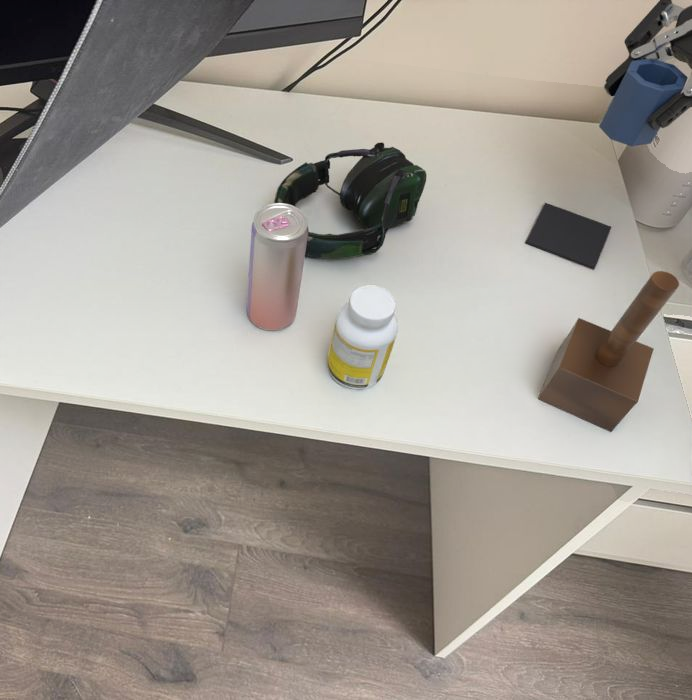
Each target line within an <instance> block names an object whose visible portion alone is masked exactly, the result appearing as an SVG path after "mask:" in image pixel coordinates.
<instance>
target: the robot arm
mask: <svg viewBox="0 0 692 700" xmlns="http://www.w3.org/2000/svg"><path fill="white" fill-rule="evenodd" d="M674 22H676V23H675V25H674V26H675V27H673V28H672V29H670V30H666V31H665V32H662V33H661V34H659V32H660V31H661V30H662V29H663V28H664V27H666V28H668V27H670V26H671V24H672V23H674ZM624 45H625V47H626V50H627V52H628V56H627V58H626V59H625V60H624V61H623V62H622V63H620V65H618V67H616V69H614V70H613V71H612V72H611V73H609V75H607V78H606V79H605V83H604V86H603V87H604V88H603V89H604V90H605V92H606V94H607V95H608V96H610V97H614V95H615V93H616V91H617V89H618V87H619V85H620V84H621V82H622V80H623V78H624V76H625V74H626V72H627V70H628V68H629V66H630V64H631V62H632V61H635V60H643V59H655V60H659V61H662V62H665V63H666V62H667V61H669V60H671V59H674V58H675V59H676V60H677V61H679V62H681V63H685V64H687V65H688V67H689V68H690V69H691V70H692V5H691V4H690V5H689V6H687V7H685V8H683V7H682V6H679V5H677V4H674V3H673V1H672V0H658V1H657V3H656V4H655V5H654V6H653V7H652V9H651V10H650V11H649V12H648V13H647V14H646V15H645V17H643V18H642V20H641V21H640V22H639V23H638V24H637V25H636V26H635V28H634V29H632V31H630V33H629V34H627V36H626V38H625V39H624ZM668 45H670V46H668ZM690 108H692V72H691V73H690V76H689V78H688V79H687V81H686V84H685V86H684V89H683V90H682V92H681V94H680V93H679V92H677V93H676V94H675V95H674V96H673V97H671V98H670V99H669V100H668V101H667V102H666V103H665V104H663V105H662V106H661V107H660V108H659V109H658V110H656V111H655V112H654V113H653V114H652V115H651V116H650V117H649V118H648V120H647V122H648V124H649V126H650V127H651V128H652V129H654V130H657V129H659V128H660V129H665V128H667V127H669V126H670V125H672V124H673V122H675V121H676V120H677V119H678V118H680V116H682V115H683V114H684V113H685V112H687V111H688V110H689V109H690ZM660 129H659V130H660Z"/></svg>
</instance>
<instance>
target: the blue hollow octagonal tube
mask: <svg viewBox="0 0 692 700" xmlns="http://www.w3.org/2000/svg"><path fill="white" fill-rule="evenodd" d="M688 79H689V78H688V76H687V75H686V74H685V73H684V72H683V71H681V70H680V69H679V68H678V67H677V66H676V65H675V64H672V63H668V62H666V61H665V62H662V61H659V60H655V59H643V60H635V61H632V62H631V64H630V66H629V68H628V70H627V72H626V74H625V76H624V78H623V80H622V82H621V84H620V85H619V87H618V89H617V91H616V93H615V95H614V96H612V100H611V101H610V104H609V105H608V106H607V109H606V111H605V113H604V115H603V117H602V118H601V121H600V123H599V125H598V127H599V129H601V131H602V132H603V133H604V134H605V135H606V136H607V137H608V138H609V139H610V140H611V141H614V142H618V143H620V144H624V145H627V146H630V147H635V146H636V147H637V146H645V145H650V144H652V142H653V141H654V140H655V138H656V135H657V134H658V132H659V131H660V129H661V127H660V128H659V129H657V130H654V129H652V128H651V127H650V126H649V124H648V122H647V120H648V118H649V117H650V116H651V115H652V114H653V113H654V112H655V111H656V110H658V109H659V108H660V107H661V106H662V105H663V104H665V103H666V102H667V101H668V100H669V99H670V98H671V97H673V96H674V95H675V94H676V93H677V92H679V93H680V94H681V93H682V92H683V90H684V88H685V86H686V84H687V82H688Z"/></svg>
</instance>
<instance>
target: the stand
mask: <svg viewBox="0 0 692 700" xmlns="http://www.w3.org/2000/svg"><path fill="white" fill-rule="evenodd" d="M679 287H680V282H679V280H678V278H677V277H676V276H675V275H673V274H672V273H670V272H668V271H663V270H657V271H654V272H653V273H652V274H651V275H650V277H649V278H648V279H647V281H646V283H645V284H644V285H643V286H642V288H641V289H640V291H639V292H638V293H637V295H636V296H635V297H634V299H633V300H632V302H631V303H630V304H629V306H627V308H626V310H625V311H624V313H623V314H622V315H621V317H620V318H619V320H618V321H617V322H616V324H615V325H614V326H613V328H612V329H611V330H609V329H607V328H605V327H603V326H600V325H597V324H595V323H593V322H590V321H587V320H586V319H583V318H580V317H579V318H577V320H576V321H575V323H574V325H573V326H572V327H571V329H570V331H569V332H568V333H567V335H566V337H565V338H564V339H563V341H562V343H561V344H560V346H559V347H558V349H557V351H556V353H555V356H554V358H553V360H552V363H551V366H550V368H549V370H548V373H547V375H546V378H545V380H544V382H543V385H542V388H541V390H540V393H539V396H538V398H537V399H538V400H539V401H542V402H543V403H546V404H548V405H550V406H553V407H555V408H557V409H559V410H561V411H564V412H566V413H568V414H570V415H573V416H574V417H577V418H580V419H581V420H583V421H586V422H588V423H590V424H593V425H595V426H596V427H600V428H601V429H604V430H605V431H608V432H613V431H614V429H615V428H617V426H618V425H619V424H620V423H621V421H622V420H623V419H624V418H625V417H626V416H627V415H628V414H629V412H630V411H631V410H632V409H633V408H634V407H635V406H636V405H637V403H638V402H639V399H640V396H641V392H642V390H643V386H644V383H645V379H646V376H647V373H648V369H649V366H650V363H651V360H652V356H653V353H654V347H651V346H649V345H646V344H644V343H641V342H639V341H638V340H639V338H640V337H641V335H642V334H643V333H644V332H645V330H647V328H648V327H649V325H650V324H651V323H652V322H653V320H654V319H655V318H656V316H657V315H658V314H659V312H660V311H661V310H662V309H663V307H665V305H666V304H667V302H668V301H669V300H670V299H671V297H672V296H673V295H674V293H676V291H677V290H678V288H679Z"/></svg>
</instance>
